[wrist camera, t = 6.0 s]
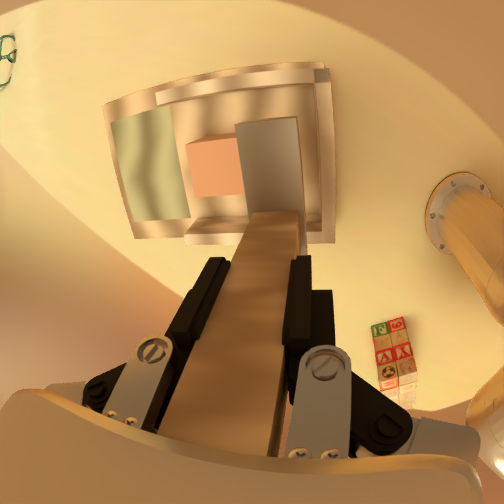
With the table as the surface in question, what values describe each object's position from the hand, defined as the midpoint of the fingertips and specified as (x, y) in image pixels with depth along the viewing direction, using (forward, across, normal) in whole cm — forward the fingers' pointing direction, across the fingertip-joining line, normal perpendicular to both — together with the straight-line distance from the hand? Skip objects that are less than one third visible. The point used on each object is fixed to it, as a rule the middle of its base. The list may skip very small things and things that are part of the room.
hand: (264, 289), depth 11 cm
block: (+24, +7, -1) cm, 25 cm away
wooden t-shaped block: (+8, 0, 0) cm, 8 cm away
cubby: (+25, +10, -1) cm, 27 cm away
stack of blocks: (+26, -18, +38) cm, 50 cm away
